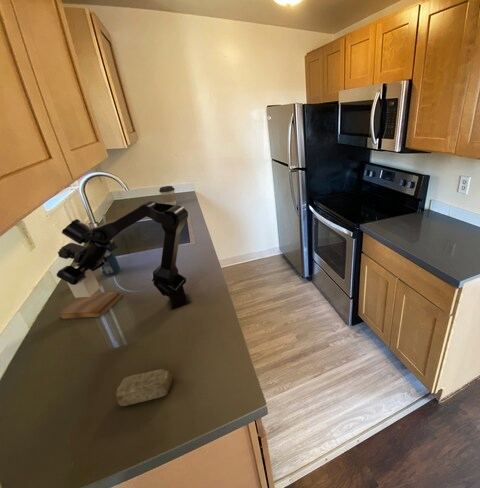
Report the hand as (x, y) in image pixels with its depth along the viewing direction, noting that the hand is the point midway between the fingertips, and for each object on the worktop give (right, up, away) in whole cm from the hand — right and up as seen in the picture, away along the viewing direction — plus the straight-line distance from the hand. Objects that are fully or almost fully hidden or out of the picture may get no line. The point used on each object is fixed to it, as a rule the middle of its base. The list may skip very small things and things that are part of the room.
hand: (77, 279), depth 101 cm
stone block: (+45, -26, -30) cm, 60 cm away
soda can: (-9, -1, +28) cm, 29 cm away
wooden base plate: (+2, -11, +5) cm, 12 cm away
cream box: (+2, -5, +3) cm, 6 cm away
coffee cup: (-37, +45, +127) cm, 140 cm away
